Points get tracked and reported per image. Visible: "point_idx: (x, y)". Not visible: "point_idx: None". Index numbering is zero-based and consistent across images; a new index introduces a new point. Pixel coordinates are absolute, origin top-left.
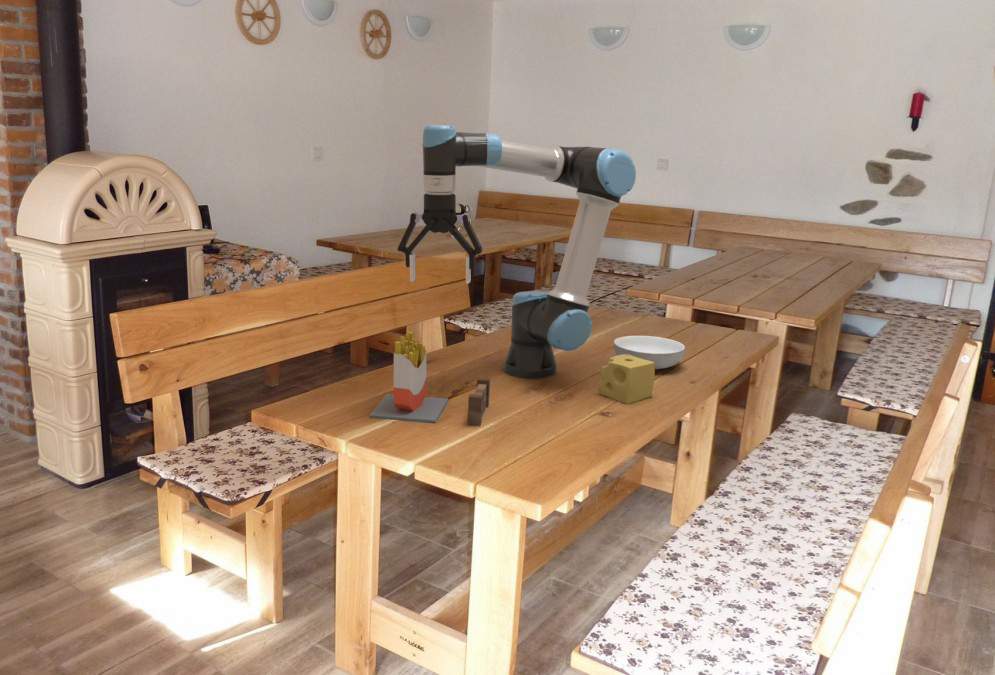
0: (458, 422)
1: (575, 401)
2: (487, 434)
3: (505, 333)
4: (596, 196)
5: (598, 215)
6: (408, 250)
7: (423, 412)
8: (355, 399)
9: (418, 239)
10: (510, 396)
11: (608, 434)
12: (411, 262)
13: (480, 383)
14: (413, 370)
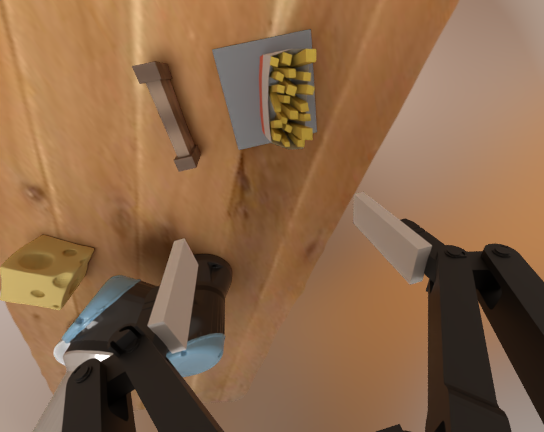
0: (184, 68)
1: (100, 216)
2: (115, 30)
3: (270, 336)
4: None
5: None
6: (454, 260)
7: (244, 78)
8: (349, 100)
9: (458, 329)
10: (178, 197)
11: None
12: (399, 227)
13: (187, 155)
14: (267, 74)
